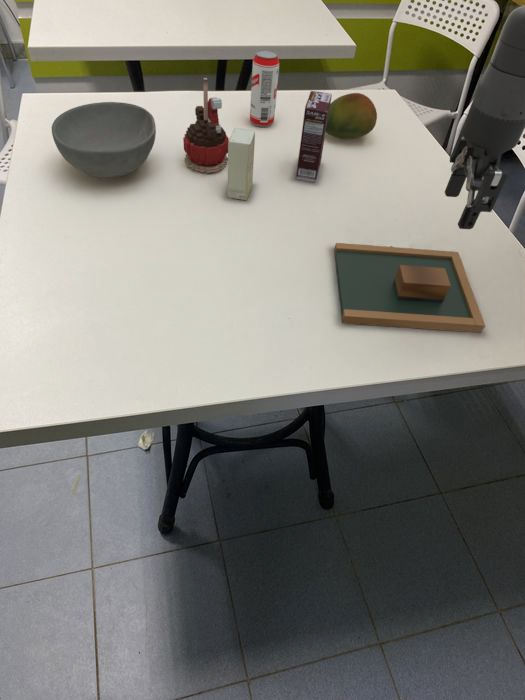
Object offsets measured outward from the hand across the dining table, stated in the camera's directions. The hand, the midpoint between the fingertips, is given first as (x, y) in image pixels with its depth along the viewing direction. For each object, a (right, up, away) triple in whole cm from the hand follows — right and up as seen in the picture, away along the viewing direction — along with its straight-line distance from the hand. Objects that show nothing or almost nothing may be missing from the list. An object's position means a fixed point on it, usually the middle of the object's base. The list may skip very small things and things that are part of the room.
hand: (457, 211), depth 76 cm
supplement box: (-20, +19, +35) cm, 45 cm away
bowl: (-63, +18, +30) cm, 72 cm away
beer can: (-30, +36, +49) cm, 68 cm away
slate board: (-6, -10, +12) cm, 17 cm away
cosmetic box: (-35, +12, +28) cm, 47 cm away
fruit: (-10, +32, +47) cm, 58 cm away
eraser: (-3, -11, +10) cm, 16 cm away
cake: (-43, +20, +34) cm, 59 cm away
